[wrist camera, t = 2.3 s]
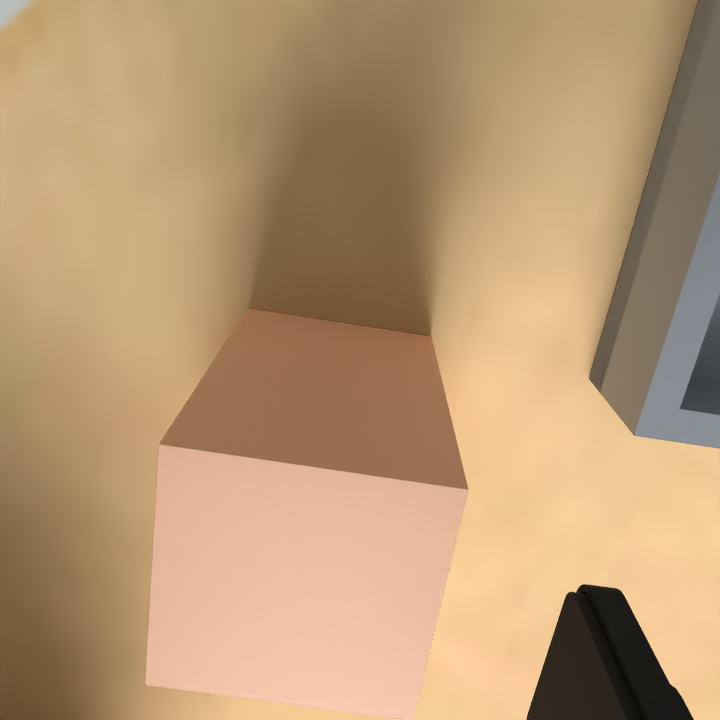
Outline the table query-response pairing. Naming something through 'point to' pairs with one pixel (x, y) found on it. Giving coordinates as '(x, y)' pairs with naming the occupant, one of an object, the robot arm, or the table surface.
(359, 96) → the table surface
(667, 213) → the tray
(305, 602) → the terracotta block
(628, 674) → the robot arm
